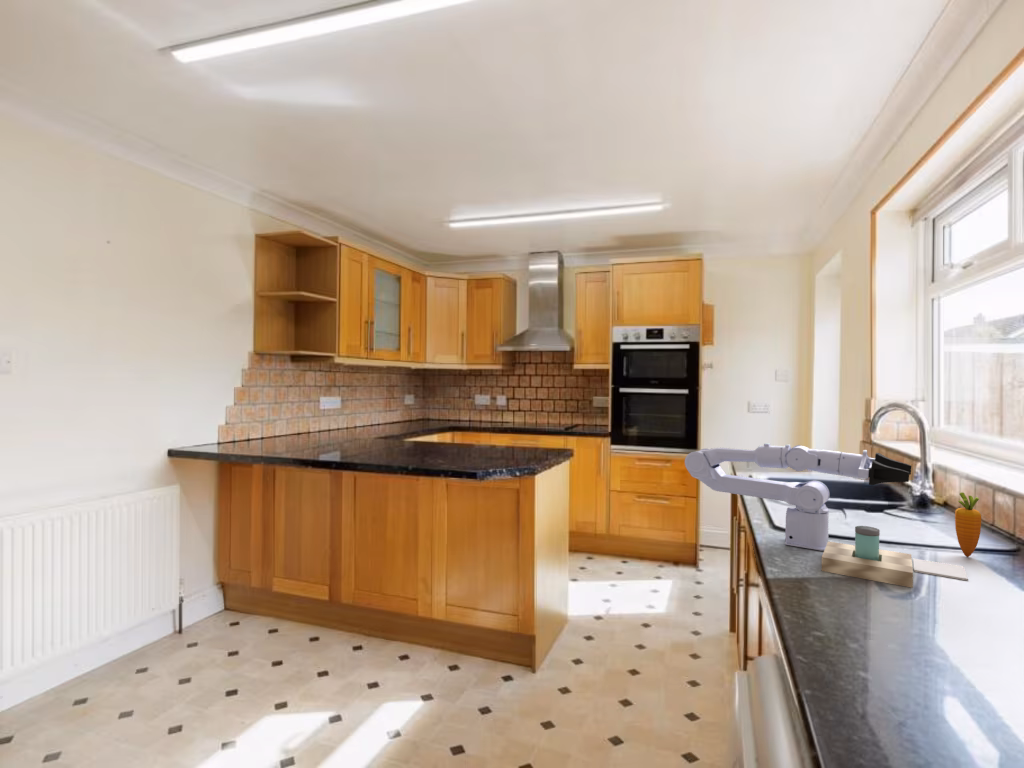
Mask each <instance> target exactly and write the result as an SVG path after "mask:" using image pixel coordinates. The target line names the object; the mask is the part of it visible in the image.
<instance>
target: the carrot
mask: <svg viewBox="0 0 1024 768" xmlns="http://www.w3.org/2000/svg"><path fill="white" fill-rule="evenodd" d="M959 496H960V498H961V499H962V500H957V501H958V503H959V504H960V505H961V506H962V507H959V508H956V509H955V511H954V526H955V533H956V539H957V542H958V545H959V546H960V550H961V551H962V553H963V555H964V556H965V557H967V558H968V557H971V555H972V554H973V553H974V552H975V550H976V549H977V546H978V543H979V539H980V536H981V529H982V514H981V512H980V511H979V510H977V509H974V507H975V505H976V504H977V502H978V501H979V500H980V498H979V497H977V496H976V497H975V498H974V496H973V495H968V497H967V496H966V494H965V493H964V492H963V491H962V492H959Z"/></svg>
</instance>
